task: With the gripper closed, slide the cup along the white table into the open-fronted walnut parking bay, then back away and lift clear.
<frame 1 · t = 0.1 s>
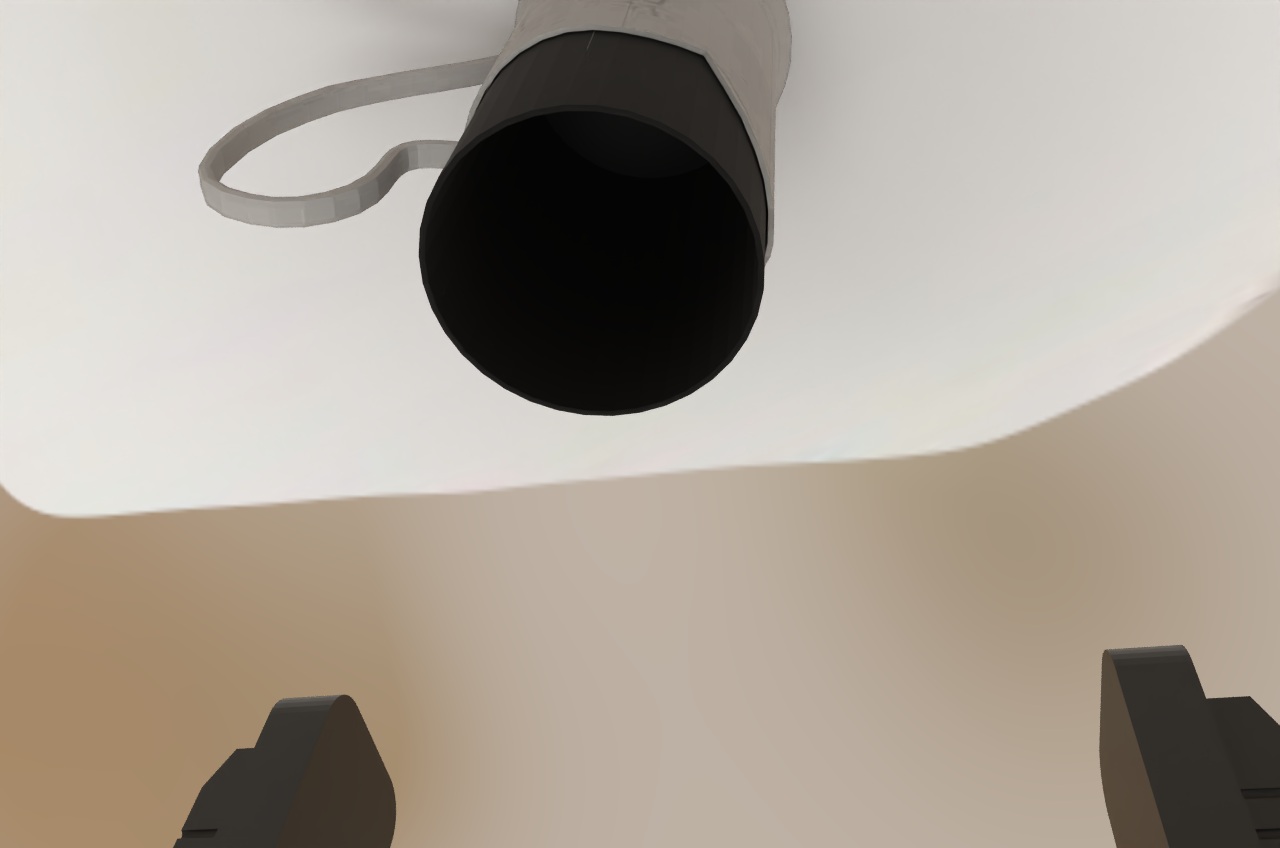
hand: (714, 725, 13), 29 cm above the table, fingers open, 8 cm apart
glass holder: (566, 38, 39), on the table
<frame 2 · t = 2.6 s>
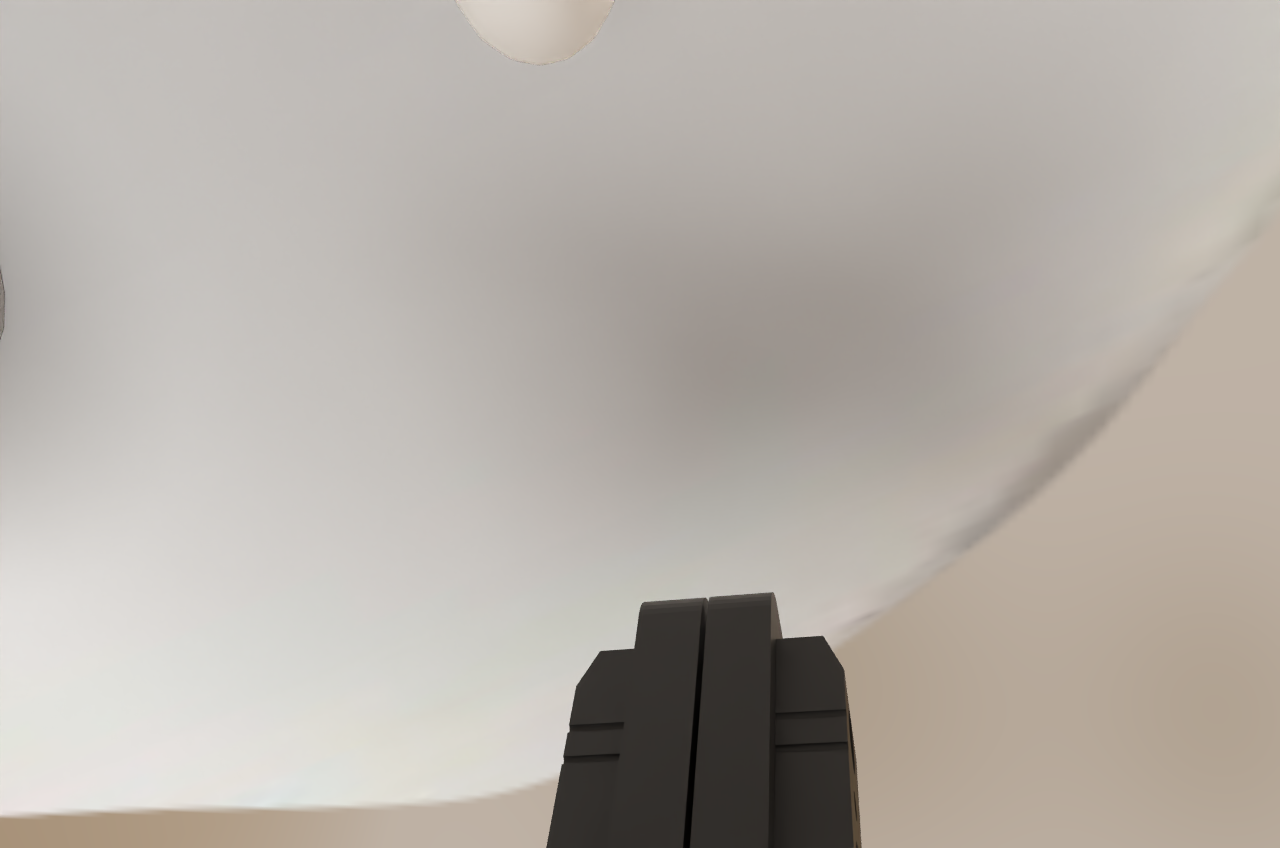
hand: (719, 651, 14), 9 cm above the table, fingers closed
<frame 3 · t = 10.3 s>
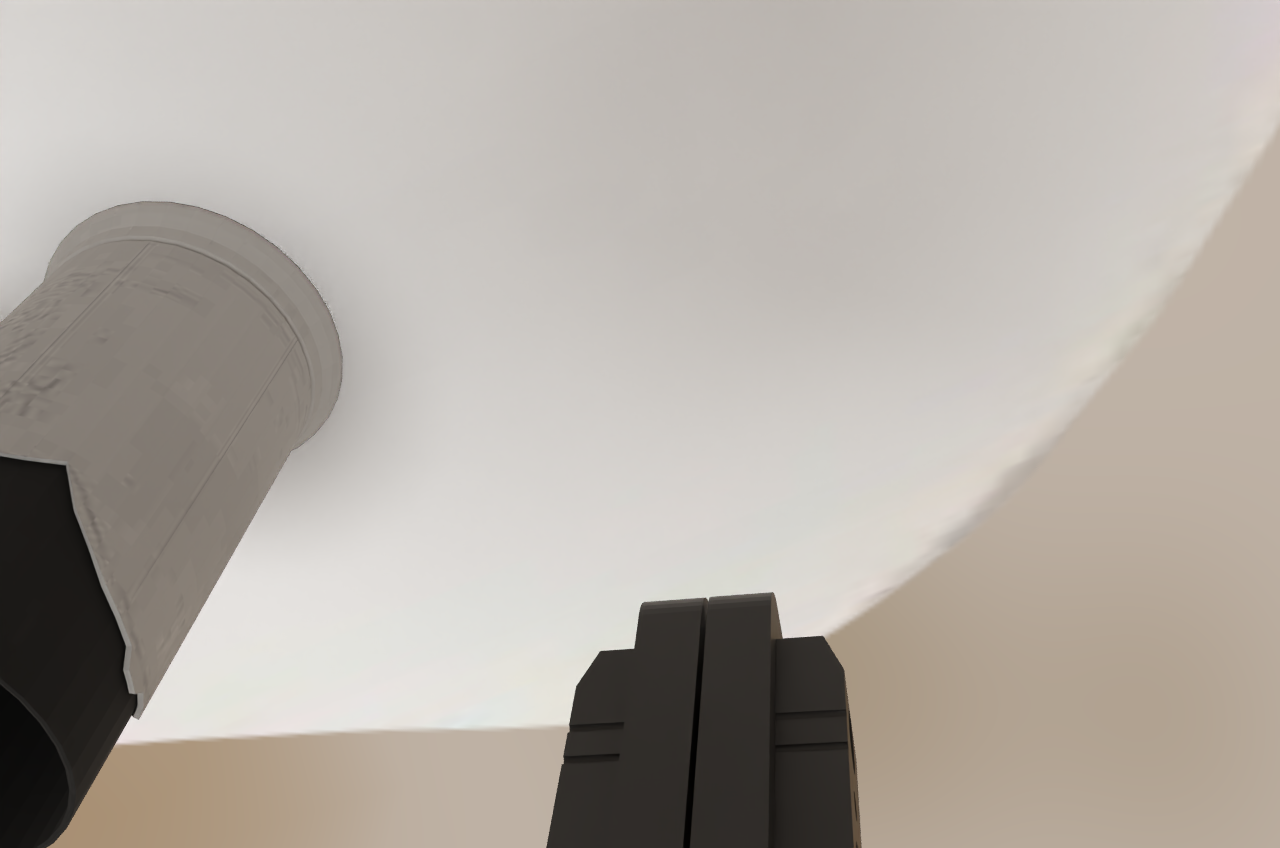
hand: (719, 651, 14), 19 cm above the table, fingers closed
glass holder: (105, 327, 36), on the table
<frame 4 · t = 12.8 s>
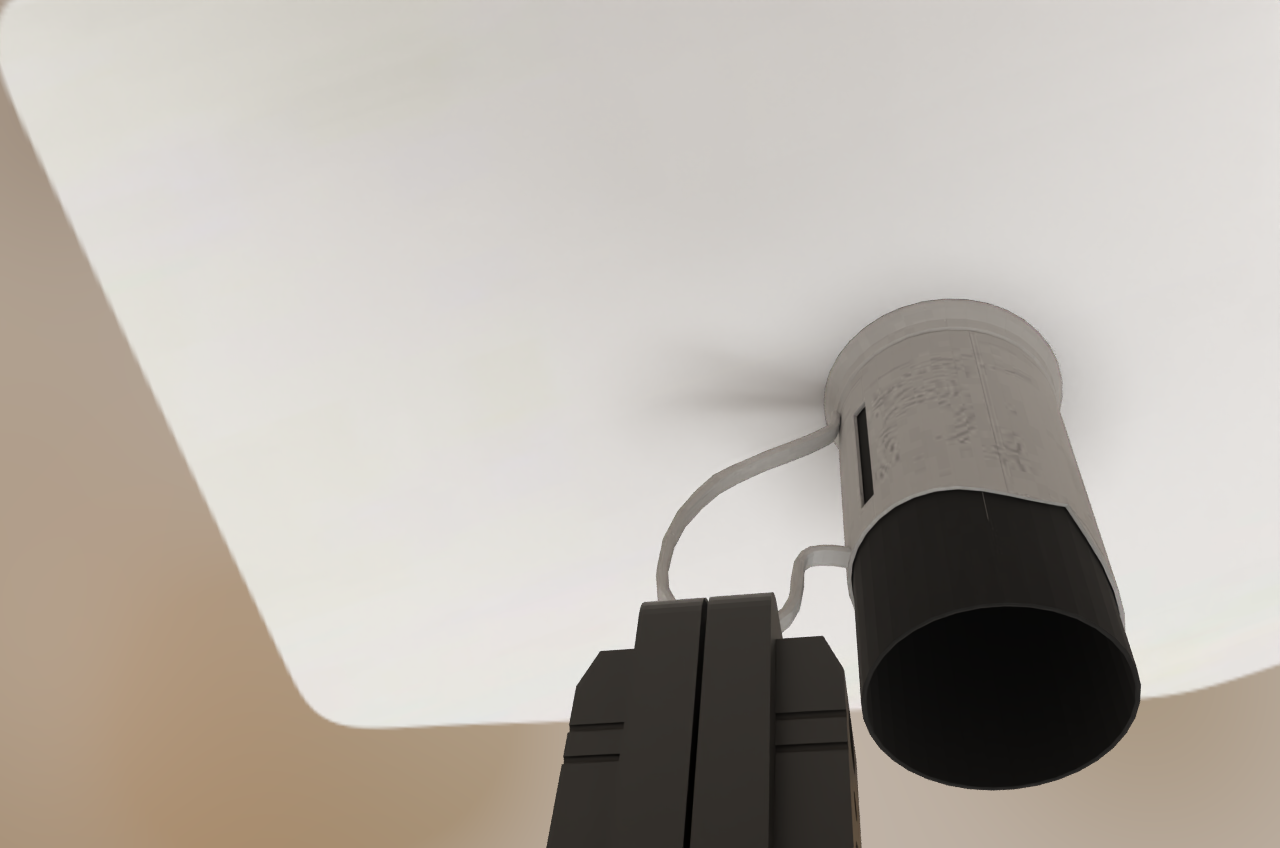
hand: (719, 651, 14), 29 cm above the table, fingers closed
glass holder: (868, 390, 46), on the table
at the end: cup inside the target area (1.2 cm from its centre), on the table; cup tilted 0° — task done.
